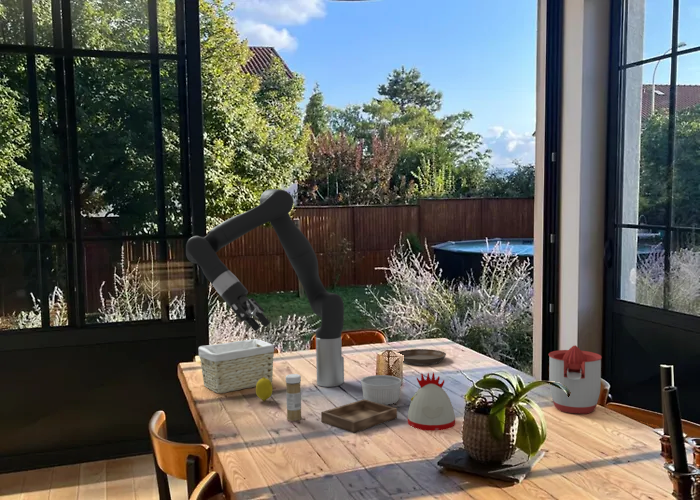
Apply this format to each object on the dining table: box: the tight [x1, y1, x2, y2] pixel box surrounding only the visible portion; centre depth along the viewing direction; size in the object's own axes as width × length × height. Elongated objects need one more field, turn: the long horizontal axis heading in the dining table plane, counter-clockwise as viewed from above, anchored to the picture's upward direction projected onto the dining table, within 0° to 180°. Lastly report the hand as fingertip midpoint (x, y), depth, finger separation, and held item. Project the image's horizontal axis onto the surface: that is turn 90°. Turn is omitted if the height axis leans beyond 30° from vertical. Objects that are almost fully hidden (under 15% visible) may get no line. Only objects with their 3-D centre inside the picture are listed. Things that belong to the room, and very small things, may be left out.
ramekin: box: [360, 374, 402, 406], centre depth 215 cm, size 13×13×7 cm
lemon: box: [255, 377, 273, 402], centre depth 217 cm, size 6×6×8 cm
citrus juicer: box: [548, 344, 603, 415], centre depth 201 cm, size 16×17×20 cm
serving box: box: [320, 398, 398, 434], centre depth 195 cm, size 18×14×3 cm
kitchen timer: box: [407, 372, 456, 432], centre depth 192 cm, size 14×14×15 cm
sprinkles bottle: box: [285, 373, 302, 422], centre depth 197 cm, size 5×5×13 cm
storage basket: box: [198, 338, 275, 394], centre depth 237 cm, size 24×16×15 cm
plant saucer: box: [396, 348, 447, 366], centre depth 270 cm, size 21×21×3 cm
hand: (263, 327), depth 204 cm, fingers open, 8 cm apart
